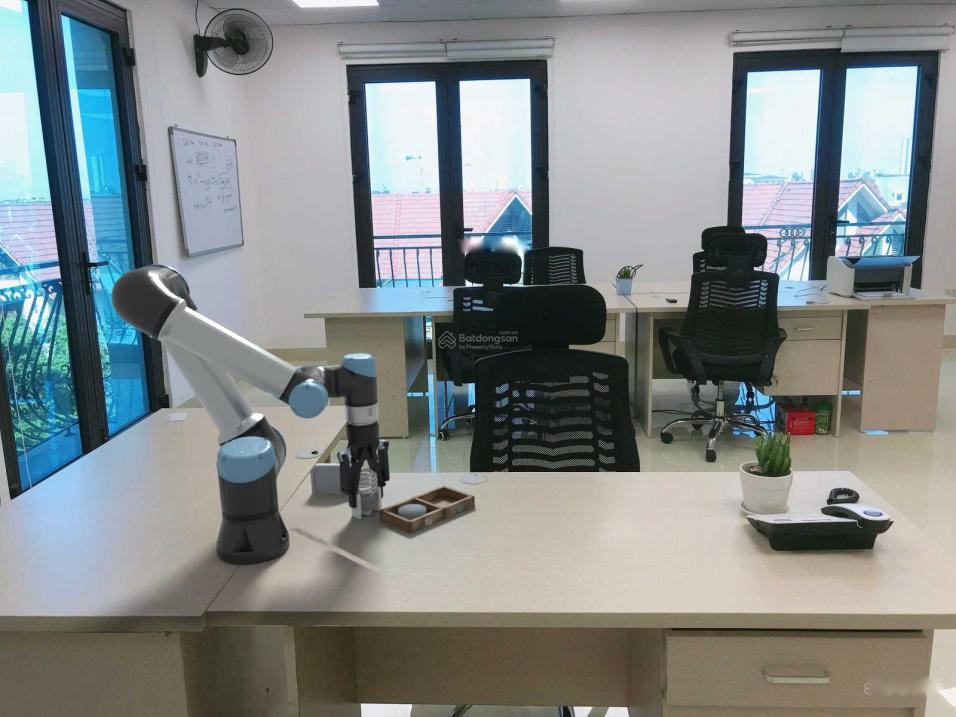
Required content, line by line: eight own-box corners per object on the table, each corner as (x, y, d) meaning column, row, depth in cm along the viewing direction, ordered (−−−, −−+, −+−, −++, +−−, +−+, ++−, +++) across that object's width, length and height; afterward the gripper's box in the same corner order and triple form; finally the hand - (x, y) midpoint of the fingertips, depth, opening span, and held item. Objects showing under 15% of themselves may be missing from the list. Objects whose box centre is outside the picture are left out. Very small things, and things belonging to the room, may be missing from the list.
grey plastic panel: (357, 495, 196) (356, 465, 194) (311, 494, 197) (309, 465, 195) (359, 492, 198) (357, 463, 196) (313, 491, 199) (312, 462, 197)
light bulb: (350, 519, 181) (347, 470, 179) (364, 510, 186) (362, 463, 183) (370, 523, 178) (367, 474, 176) (383, 514, 183) (381, 466, 181)
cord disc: (411, 527, 173) (411, 517, 173) (393, 519, 178) (392, 510, 177) (432, 518, 178) (432, 509, 177) (413, 511, 182) (413, 501, 182)
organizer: (411, 537, 170) (410, 522, 170) (380, 524, 178) (379, 509, 177) (475, 509, 185) (475, 496, 184) (444, 498, 192) (443, 485, 191)
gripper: (339, 433, 168) (345, 532, 173) (403, 415, 181) (407, 508, 186) (319, 426, 173) (325, 523, 178) (382, 409, 186) (387, 500, 191)
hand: (367, 515), depth 182 cm, fingers closed on light bulb, 5 cm apart
